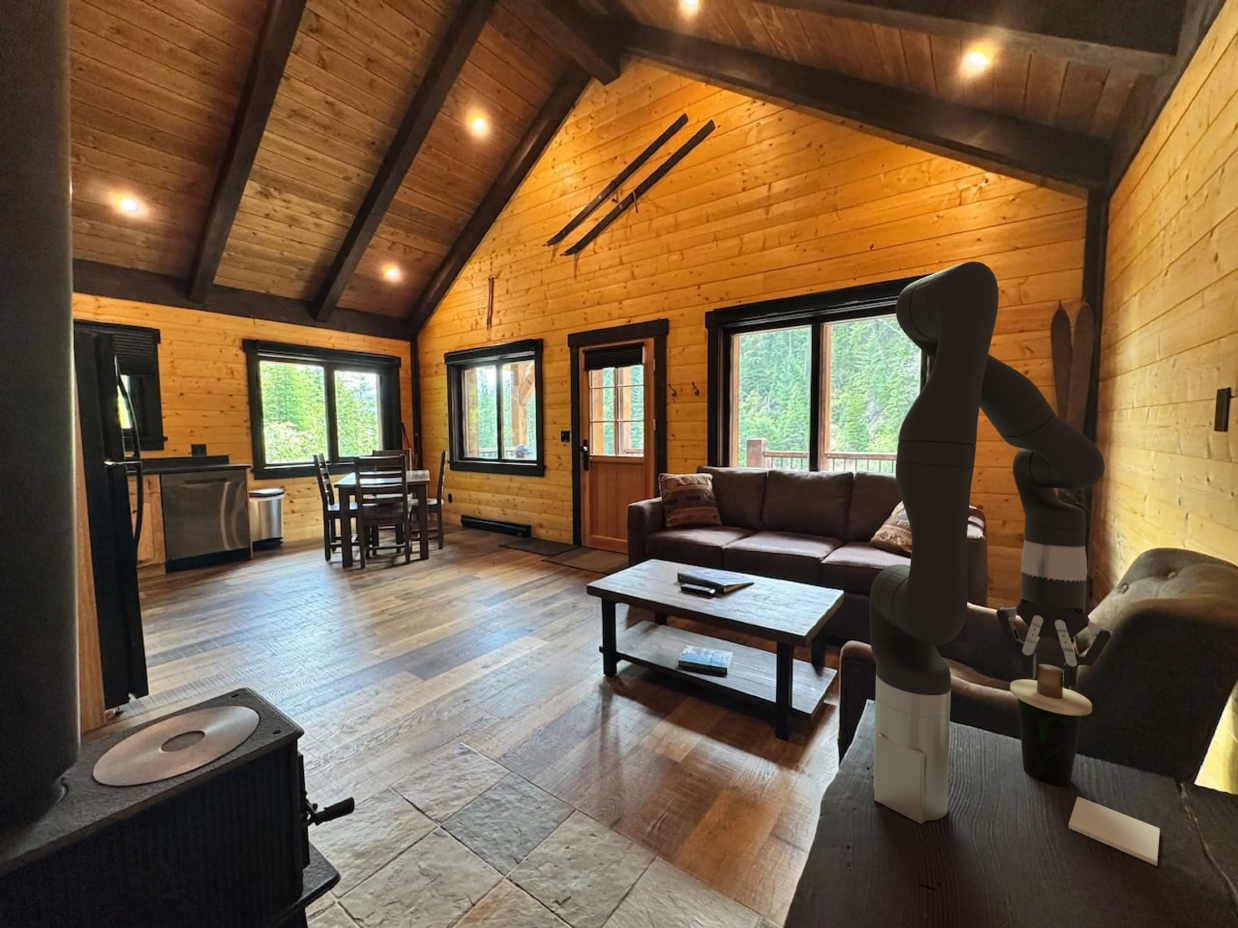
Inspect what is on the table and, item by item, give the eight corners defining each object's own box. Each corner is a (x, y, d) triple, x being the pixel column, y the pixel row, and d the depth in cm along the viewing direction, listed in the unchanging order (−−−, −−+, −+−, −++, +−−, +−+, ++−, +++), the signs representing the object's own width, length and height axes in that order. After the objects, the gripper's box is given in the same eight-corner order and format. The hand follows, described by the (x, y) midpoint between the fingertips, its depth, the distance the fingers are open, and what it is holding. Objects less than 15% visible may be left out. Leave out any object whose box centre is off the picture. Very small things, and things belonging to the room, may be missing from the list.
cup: (1054, 761, 81) (1056, 688, 80) (1094, 793, 73) (1097, 713, 73) (1003, 757, 81) (1005, 685, 81) (1037, 789, 74) (1040, 710, 73)
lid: (1087, 722, 70) (1088, 689, 70) (1003, 696, 77) (1004, 666, 77) (1095, 700, 76) (1096, 670, 76) (1017, 678, 83) (1018, 650, 83)
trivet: (1156, 865, 60) (1157, 860, 60) (1068, 827, 66) (1068, 823, 66) (1159, 832, 65) (1159, 828, 65) (1077, 800, 71) (1077, 796, 71)
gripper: (990, 567, 79) (987, 673, 80) (1115, 586, 68) (1111, 709, 69) (1001, 560, 84) (998, 661, 85) (1120, 577, 73) (1116, 692, 74)
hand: (1049, 681), depth 77 cm, fingers open, 3 cm apart
